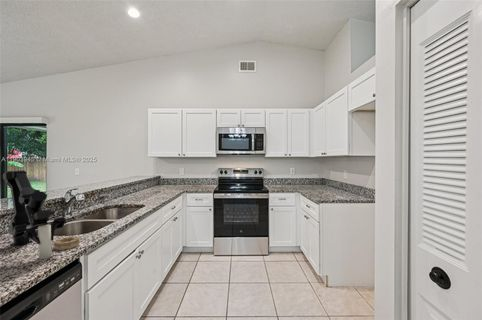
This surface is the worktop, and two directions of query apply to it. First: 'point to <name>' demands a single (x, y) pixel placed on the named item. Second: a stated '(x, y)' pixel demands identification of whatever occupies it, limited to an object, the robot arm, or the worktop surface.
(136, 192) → the worktop surface
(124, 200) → the worktop surface
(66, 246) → the tan open ring
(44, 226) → the dowel
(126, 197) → the worktop surface
